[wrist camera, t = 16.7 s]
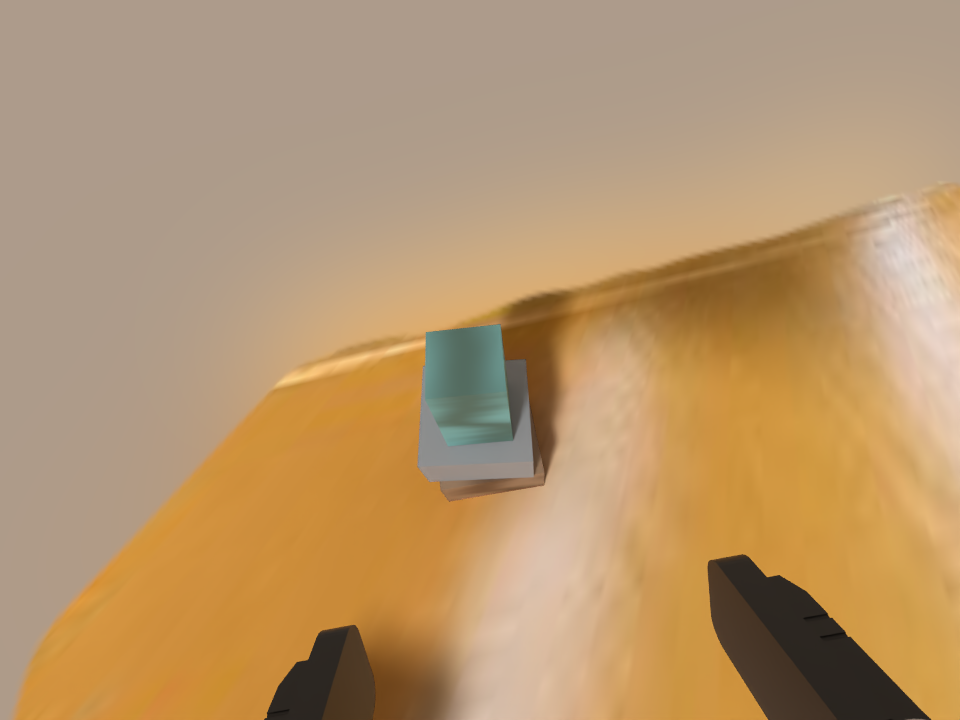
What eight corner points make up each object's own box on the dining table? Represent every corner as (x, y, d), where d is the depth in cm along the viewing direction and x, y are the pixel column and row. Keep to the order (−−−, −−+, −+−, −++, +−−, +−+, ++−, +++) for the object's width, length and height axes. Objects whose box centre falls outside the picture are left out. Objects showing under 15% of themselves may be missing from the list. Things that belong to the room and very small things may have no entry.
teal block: (507, 382, 34) (500, 324, 28) (513, 440, 32) (506, 391, 25) (447, 388, 34) (426, 332, 28) (447, 446, 32) (425, 399, 26)
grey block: (526, 382, 38) (525, 359, 35) (533, 477, 34) (533, 461, 31) (433, 388, 39) (423, 366, 36) (429, 481, 35) (417, 466, 32)
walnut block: (525, 399, 42) (524, 379, 38) (543, 485, 38) (544, 472, 34) (440, 414, 42) (431, 396, 39) (449, 502, 38) (440, 490, 35)
